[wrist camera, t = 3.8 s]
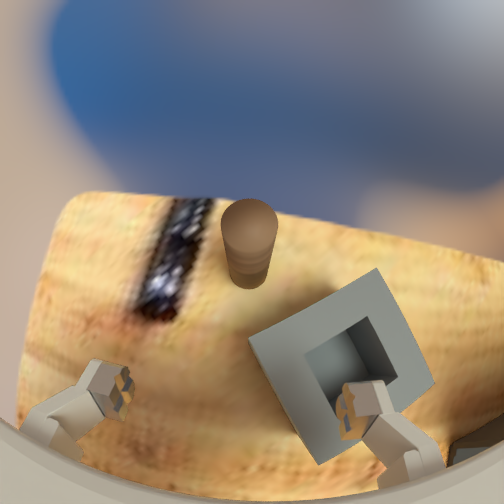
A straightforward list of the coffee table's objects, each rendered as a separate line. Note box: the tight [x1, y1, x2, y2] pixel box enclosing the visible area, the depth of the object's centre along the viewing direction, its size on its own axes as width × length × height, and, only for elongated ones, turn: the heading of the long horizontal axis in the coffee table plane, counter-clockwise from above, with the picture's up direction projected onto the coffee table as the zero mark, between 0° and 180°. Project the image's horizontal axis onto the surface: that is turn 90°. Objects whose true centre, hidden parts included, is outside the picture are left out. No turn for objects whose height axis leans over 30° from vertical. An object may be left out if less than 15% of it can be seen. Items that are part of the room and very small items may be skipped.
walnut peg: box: [221, 199, 278, 289], centre depth 22 cm, size 4×4×10 cm
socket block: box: [248, 268, 435, 465], centre depth 20 cm, size 10×10×8 cm
